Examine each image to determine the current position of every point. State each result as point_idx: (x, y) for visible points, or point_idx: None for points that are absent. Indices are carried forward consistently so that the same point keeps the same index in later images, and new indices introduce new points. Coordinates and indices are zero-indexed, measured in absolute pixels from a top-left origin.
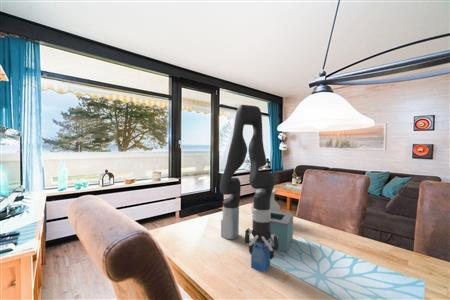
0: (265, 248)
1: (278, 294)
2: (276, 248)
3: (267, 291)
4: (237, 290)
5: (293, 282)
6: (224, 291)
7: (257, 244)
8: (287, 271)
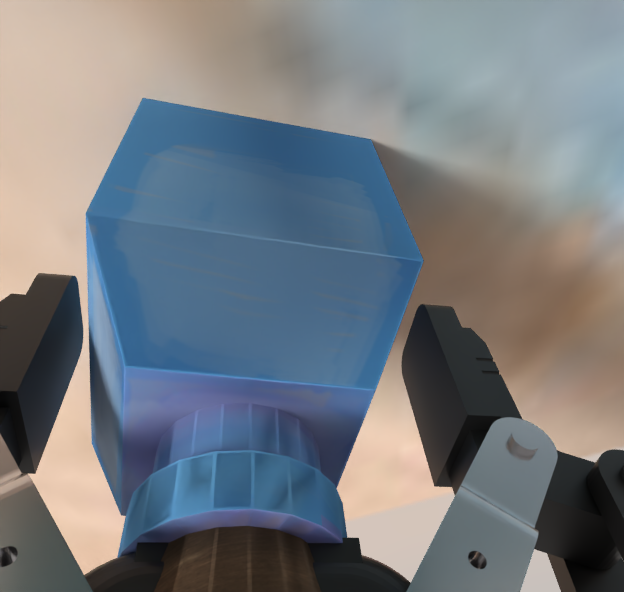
0: (347, 460)
1: (448, 487)
2: (593, 567)
3: (368, 491)
4: None
5: (606, 351)
6: None
7: (132, 425)
8: (598, 206)
